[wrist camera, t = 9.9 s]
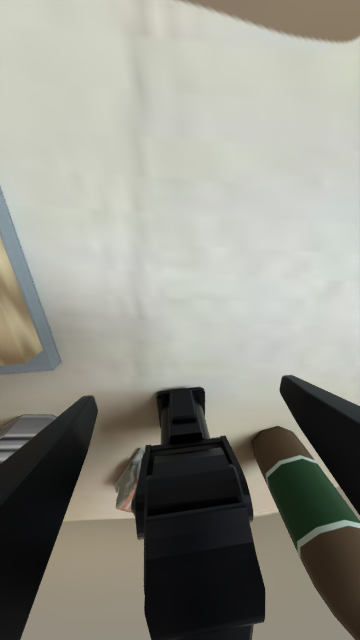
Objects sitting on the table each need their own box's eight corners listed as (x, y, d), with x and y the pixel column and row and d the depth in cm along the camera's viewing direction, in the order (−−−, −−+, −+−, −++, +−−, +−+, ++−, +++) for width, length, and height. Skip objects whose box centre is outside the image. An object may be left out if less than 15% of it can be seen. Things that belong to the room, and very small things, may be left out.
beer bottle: (301, 441, 29) (745, 1038, 7) (262, 462, 30) (536, 1033, 8) (282, 417, 27) (887, 1235, 4) (241, 441, 28) (553, 1187, 6)
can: (65, 404, 22) (-35, 552, 11) (98, 457, 26) (49, 605, 15) (-20, 424, 22) (-206, 593, 11) (26, 474, 26) (-76, 635, 15)
